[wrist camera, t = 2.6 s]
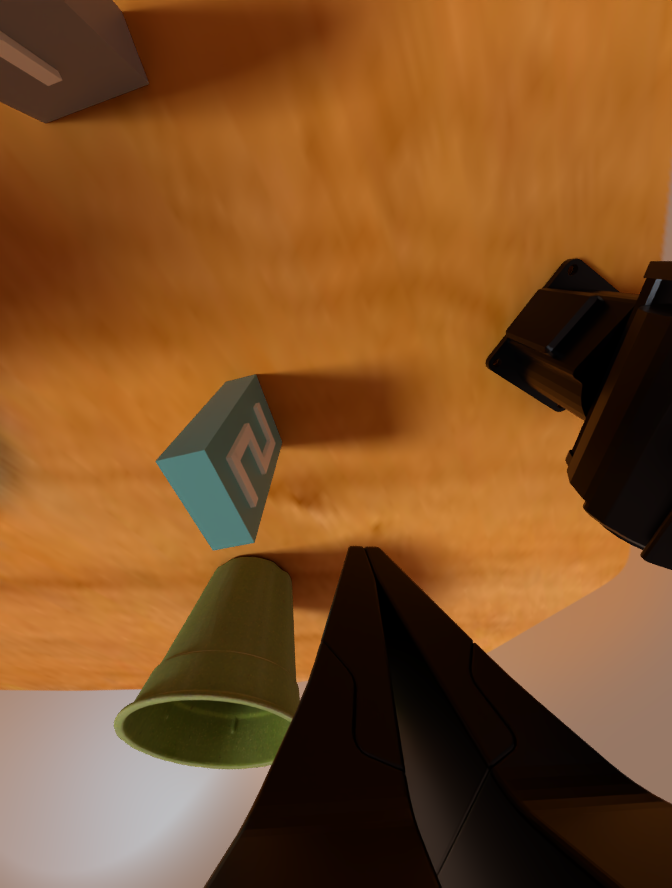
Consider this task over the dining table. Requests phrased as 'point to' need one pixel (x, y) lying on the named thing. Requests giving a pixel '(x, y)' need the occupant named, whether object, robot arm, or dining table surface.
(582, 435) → the robot arm
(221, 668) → the plant pot
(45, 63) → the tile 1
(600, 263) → the dining table surface
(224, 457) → the tile
